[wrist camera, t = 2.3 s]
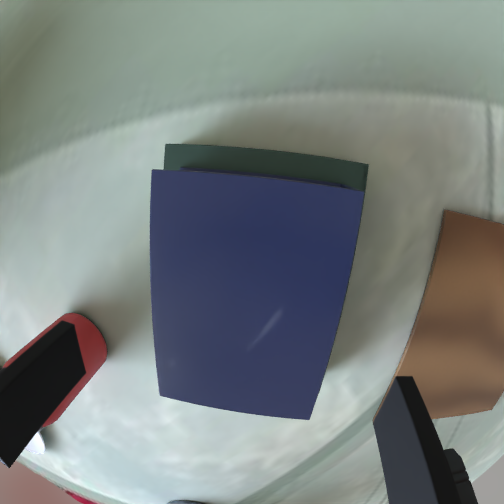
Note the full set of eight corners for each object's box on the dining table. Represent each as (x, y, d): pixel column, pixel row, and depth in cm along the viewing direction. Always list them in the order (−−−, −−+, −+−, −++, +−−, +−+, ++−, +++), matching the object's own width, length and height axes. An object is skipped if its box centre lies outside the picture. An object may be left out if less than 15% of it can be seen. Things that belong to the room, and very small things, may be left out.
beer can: (88, 303, 26) (7, 372, 14) (121, 359, 27) (59, 440, 16) (52, 316, 27) (-19, 375, 16) (82, 366, 28) (24, 433, 17)
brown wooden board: (490, 407, 25) (491, 409, 24) (372, 419, 26) (373, 423, 26) (560, 242, 18) (562, 243, 18) (443, 209, 19) (446, 210, 19)
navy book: (307, 379, 22) (309, 420, 18) (178, 359, 23) (159, 395, 19) (346, 184, 18) (364, 191, 13) (181, 167, 18) (151, 169, 14)
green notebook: (317, 375, 25) (318, 393, 22) (174, 354, 26) (165, 370, 24) (359, 164, 19) (368, 164, 17) (178, 145, 21) (165, 143, 18)
